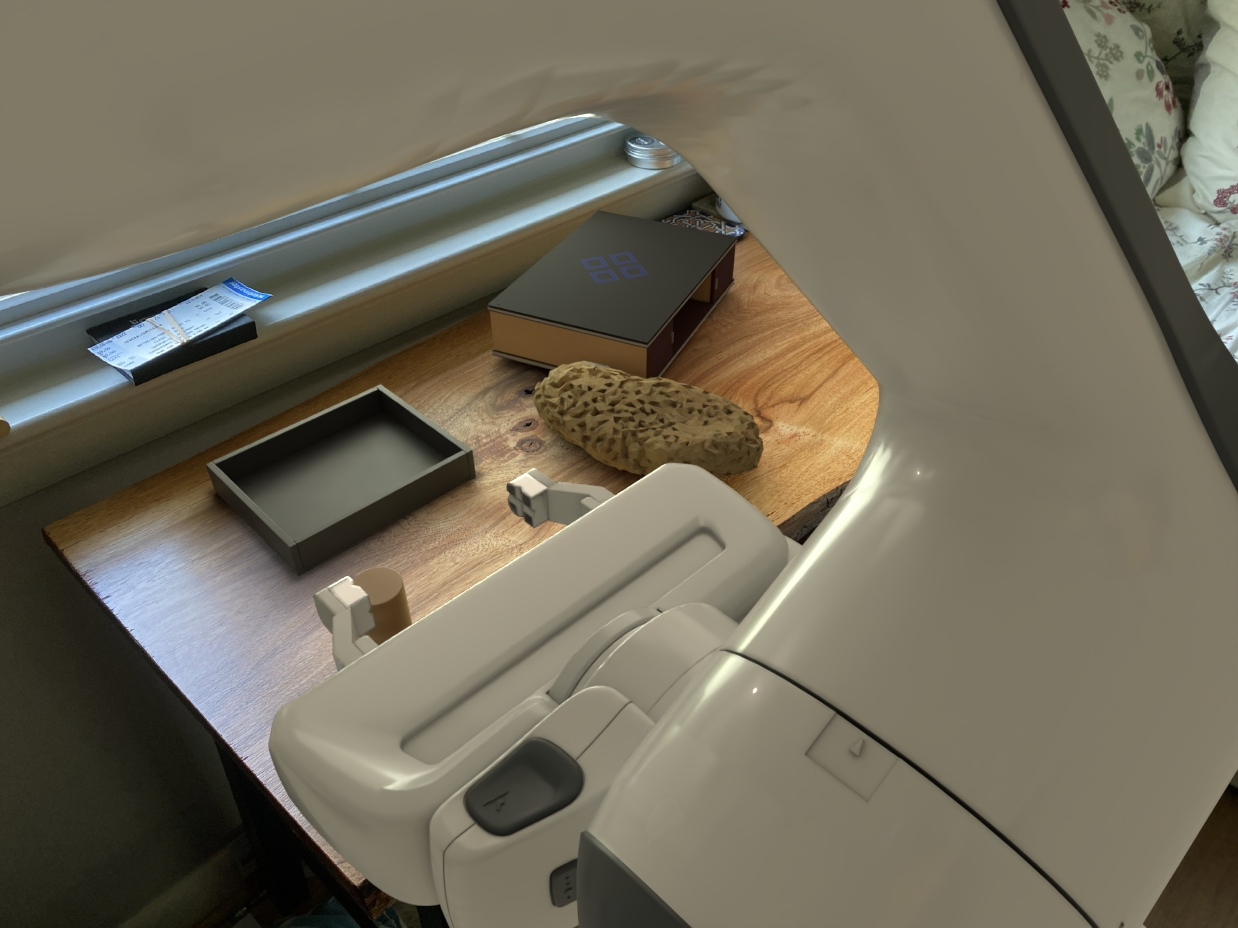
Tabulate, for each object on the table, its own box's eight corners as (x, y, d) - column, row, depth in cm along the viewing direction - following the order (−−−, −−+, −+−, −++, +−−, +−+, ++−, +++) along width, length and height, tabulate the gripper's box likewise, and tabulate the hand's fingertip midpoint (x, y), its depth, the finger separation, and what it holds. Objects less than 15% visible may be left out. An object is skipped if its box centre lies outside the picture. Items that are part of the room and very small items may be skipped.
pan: (298, 576, 72) (289, 547, 70) (214, 491, 80) (205, 464, 78) (476, 477, 81) (472, 449, 79) (385, 410, 89) (380, 384, 87)
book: (733, 290, 108) (738, 236, 104) (646, 402, 90) (648, 342, 86) (599, 261, 114) (598, 209, 109) (492, 361, 96) (486, 304, 92)
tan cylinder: (395, 757, 59) (362, 631, 52) (352, 711, 62) (315, 585, 55) (458, 711, 62) (435, 585, 55) (414, 669, 65) (387, 543, 57)
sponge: (523, 448, 86) (674, 518, 73) (520, 367, 83) (676, 424, 70) (629, 416, 94) (783, 474, 81) (629, 341, 91) (789, 388, 78)
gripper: (867, 522, 35) (610, 378, 43) (407, 903, 24) (173, 613, 31) (843, 635, 39) (612, 484, 46) (438, 1007, 28) (223, 726, 35)
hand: (431, 538), depth 39 cm, fingers open, 8 cm apart
